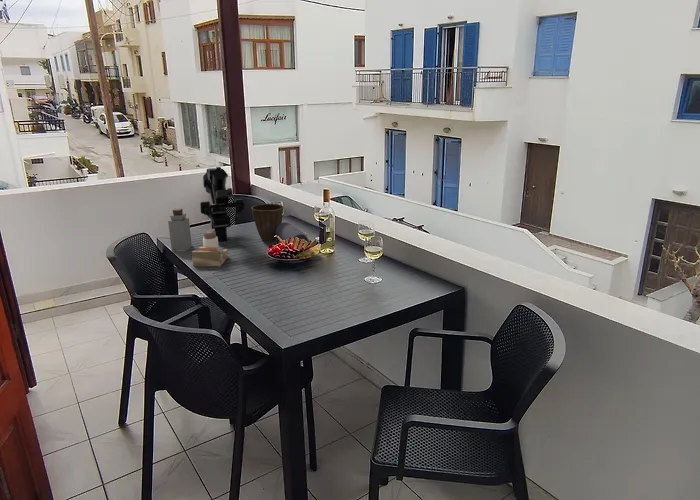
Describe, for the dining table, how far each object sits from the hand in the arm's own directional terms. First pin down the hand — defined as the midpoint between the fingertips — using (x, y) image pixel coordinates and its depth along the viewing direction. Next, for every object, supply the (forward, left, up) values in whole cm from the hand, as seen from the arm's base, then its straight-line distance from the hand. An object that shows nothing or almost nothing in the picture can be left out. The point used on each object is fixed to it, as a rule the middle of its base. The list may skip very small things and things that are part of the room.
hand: (225, 222), depth 202 cm
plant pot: (-20, +14, -14) cm, 28 cm away
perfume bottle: (-5, -23, -14) cm, 27 cm away
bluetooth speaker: (-7, +27, -14) cm, 32 cm away
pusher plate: (+15, -4, -13) cm, 20 cm away
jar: (+11, -4, -14) cm, 18 cm away
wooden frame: (+12, -4, -14) cm, 18 cm away
